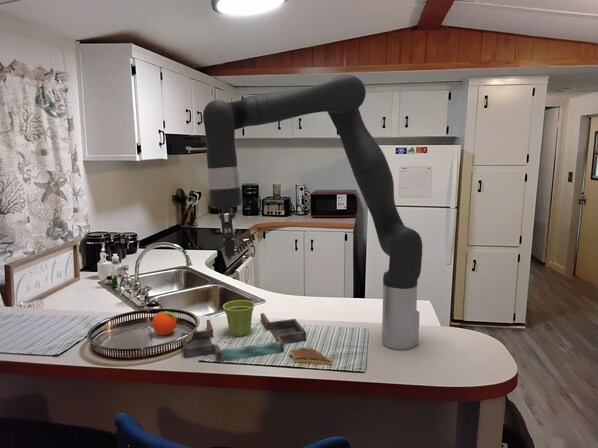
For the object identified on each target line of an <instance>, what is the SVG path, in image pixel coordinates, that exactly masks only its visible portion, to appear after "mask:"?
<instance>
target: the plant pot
mask: <svg viewBox="0 0 598 448" xmlns="http://www.w3.org/2000/svg"><path fill="white" fill-rule="evenodd" d="M255 305H256V303H255V302H254V301H251V300H247V299H237V300H236V299H235V300H232V301H228V302H226V303H224V304H223V305H222V307H223V310H224V312H225V315H226V319H227V324H228V331H229V333H230V335H231V336H234V337H241V336H247V335H248V334H250V333H251V330H252V329H251V328H252V319H253V311H254V308H255Z"/></svg>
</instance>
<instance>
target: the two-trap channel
mask: <svg viewBox="0 0 598 448" xmlns="http://www.w3.org/2000/svg"><path fill="white" fill-rule="evenodd" d="M260 322H261V324H262V326H264V328H265V330H266V331H270V332H271V334H272V336H273V337H274V338H275V341H273V342H266V343H261V344H259V343H257V344H252V345H245V346H238V347H231V348H230V347H229V348H223V349H220V346H219V344H215V343H212V339H211V338H214V328H213V325H212V322H211V319H206V330H197V331H193V332H194V333H193V337H192V341H191V342H190V343H189V344H187V342H186V338H185V339H184V340H182V339H181V345H182V344H183V347H182V352H183V358H184V359H187V358H193V357H201V356H208V355H207V354H209V355H214V356H215V359H217V360H216V362H217V361H220V362H225V361H224V360H227V361H231V360H232V359H233V360H239V358H240V359H247V358H251V357H253V358H254V357H258V356H266V354H267V355H274V354H278V353H279V354H280V353H285V344H291V343H298V342H299V343H300V342H306V341H307V331H306V330H305V329H304V328H303V327H302V325H301V324H300V323H299V322H298V321H297V319H296V318H291V319H285V320H284V319H282V320H277V321H270V320H269V319H268V317H267V316H266V314H265V313H264V312H262V313H260ZM188 333H190V331H189V332H182V333H181V335H180V336H181V338H182V337H183V336H185V335H187V334H188ZM273 353H274V354H273Z"/></svg>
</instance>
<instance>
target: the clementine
mask: <svg viewBox="0 0 598 448" xmlns="http://www.w3.org/2000/svg"><path fill="white" fill-rule="evenodd" d="M177 321H179V320H178V317H177V316H176V314H174V313H173V312H170V311H167V310H163V311H160V312H158V313H157V314H155V316H154V317H153V318H152V321H151V322H152V323H151V326H152V329H153V330H154V332H155V333H156V334H158V335H160V336H165V335H166V336H167V335H169V334H171V333H172V332H173V331H174V330H175V328H176V326H177Z"/></svg>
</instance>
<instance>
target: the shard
mask: <svg viewBox="0 0 598 448" xmlns="http://www.w3.org/2000/svg"><path fill="white" fill-rule="evenodd" d="M288 354H289V355H291V356H292V358H293V363H295V362H297V363H303V364H314V365H323V366H332V363H333V360H330V359H329V358H327V357H326V356H325V355H324V354H322V353H320V352H319V351H317V350H316V349H314V348H312V347H310V346H309V347H308V346H307V347H304V346H303V347H299V348H296V349H292V350H289V351H288Z"/></svg>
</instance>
